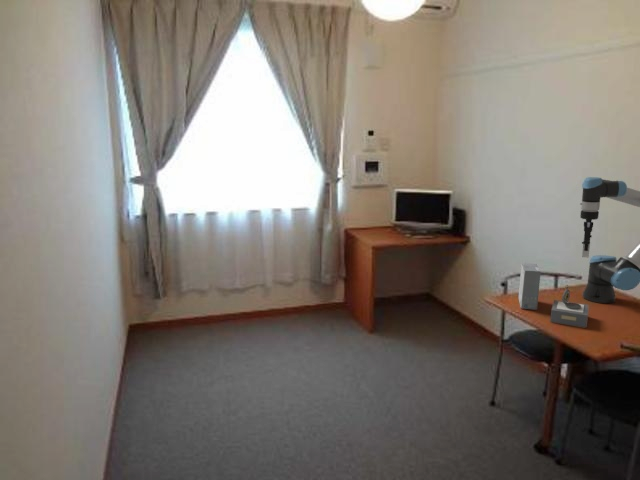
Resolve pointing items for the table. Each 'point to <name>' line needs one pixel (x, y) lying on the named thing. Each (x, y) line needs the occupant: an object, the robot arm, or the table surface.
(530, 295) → the hard drive box
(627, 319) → the table surface
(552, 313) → the display plinth
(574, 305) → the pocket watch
